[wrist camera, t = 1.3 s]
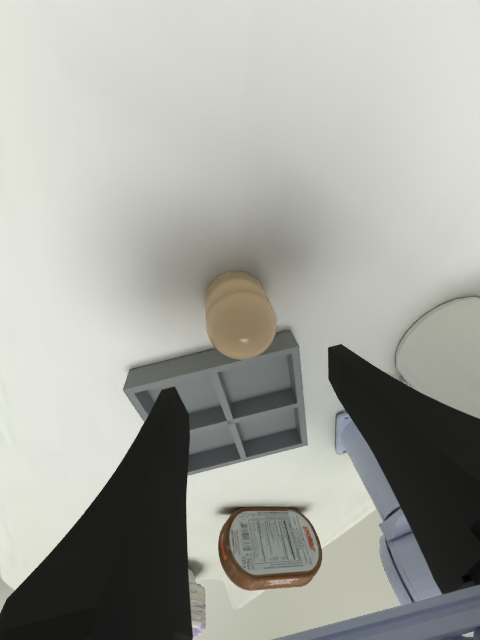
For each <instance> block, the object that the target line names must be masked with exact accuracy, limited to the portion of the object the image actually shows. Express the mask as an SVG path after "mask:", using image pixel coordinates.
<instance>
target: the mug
mask: <svg viewBox="0 0 480 640" xmlns="http://www.w3.org/2000/svg"><path fill="white" fill-rule="evenodd" d="M396 367H397V369H398V371H399V373H400V374H401V375H402V376H403V377H404V378H405V380H406V381H407V382H408V383H409V384H410V385H411V386H412V387H413V388H414V389H415V390H417V391H419V392H420V393H422V394H425V395H427V396H429V397H431V398H433V399H435V400H437V401H439V402H441V403H443V404H446V405H448V406H450V407H452V408H455V409H457V410H460V411H462V412H464V413H467V414H469V415H472V416H474V417H476V418H479V419H480V298H479V297H467V298H461V299H455V300H452V301H450V302H447V303H445V304H442V305H440V306H438V307H436V308H435V309H433V310H431V311H430V312H428V313H426V314H425V315H424V316H423V317H422V318H420V319H419V320H418V321H417V322H416V323H414V325H413V326H412V327H411V328H410V329H409V330H408V331H407V333H406V334H405V335H404V337H403V339H402V340H401V342H400V344H399V346H398V349H397V352H396Z"/></svg>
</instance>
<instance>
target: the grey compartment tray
mask: <svg viewBox="0 0 480 640" xmlns="http://www.w3.org/2000/svg"><path fill="white" fill-rule="evenodd" d="M174 386H175V388H176V390H177V392H178V394H179V396H180V398H181V400H182V401H183V403H184V405H185V407H186V409H187V411H188V413H189V424H190V445H189V460H188V474H187V476H188V475H192V474H196V473H200V472H204V471H208V470H212V469H215V468H219V467H223V466H227V465H231V464H235V463H239V462H243V461H247V460H251V459H255V458H259V457H263V456H267V455H271V454H275V453H278V452H282V451H286V450H290V449H294V448H298V447H302V446H306V445H308V442H307V431H306V420H305V409H304V398H303V386H302V375H301V364H300V353H299V345H298V344H297V342H296V340H295V338H294V336H293V335H292V333H291V331H290V330H289V331H285V332H281V333H277V334H275V337H274V339H273V341H272V343H271V345H270V346H269V347H268V348H267V349H266V350H265V351H264V352H263V353H261V354H260V355H258V356H256V357H254V358H250V359H244V360H238V359H233V358H230V357H227V356H225V355H223V354H222V353H220V352H219V351H218V350H217V349H212V350H208V351H204V352H200V353H196V354H192V355H188V356H184V357H180V358H176V359H172V360H168V361H164V362H160V363H156V364H152V365H148V366H144V367H139V368H135V369H131V370H129V373H128V376H127V379H126V382H125V385H124V388H123V391H124V392H125V394H126V395H127V397H128V398H129V400H130V401H131V403H132V404H133V406H134V407H135V409H136V410H137V412H138V413H139V415H140V416H141V418H142V419H143V421H144V422H145V421H146V419H147V417H148V415H149V413H150V411H151V409H152V407H153V405H154V403H155V401H156V399H157V397H158V395H159V394H160V392H161V390H162V389H166V388H170V387H174Z"/></svg>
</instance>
